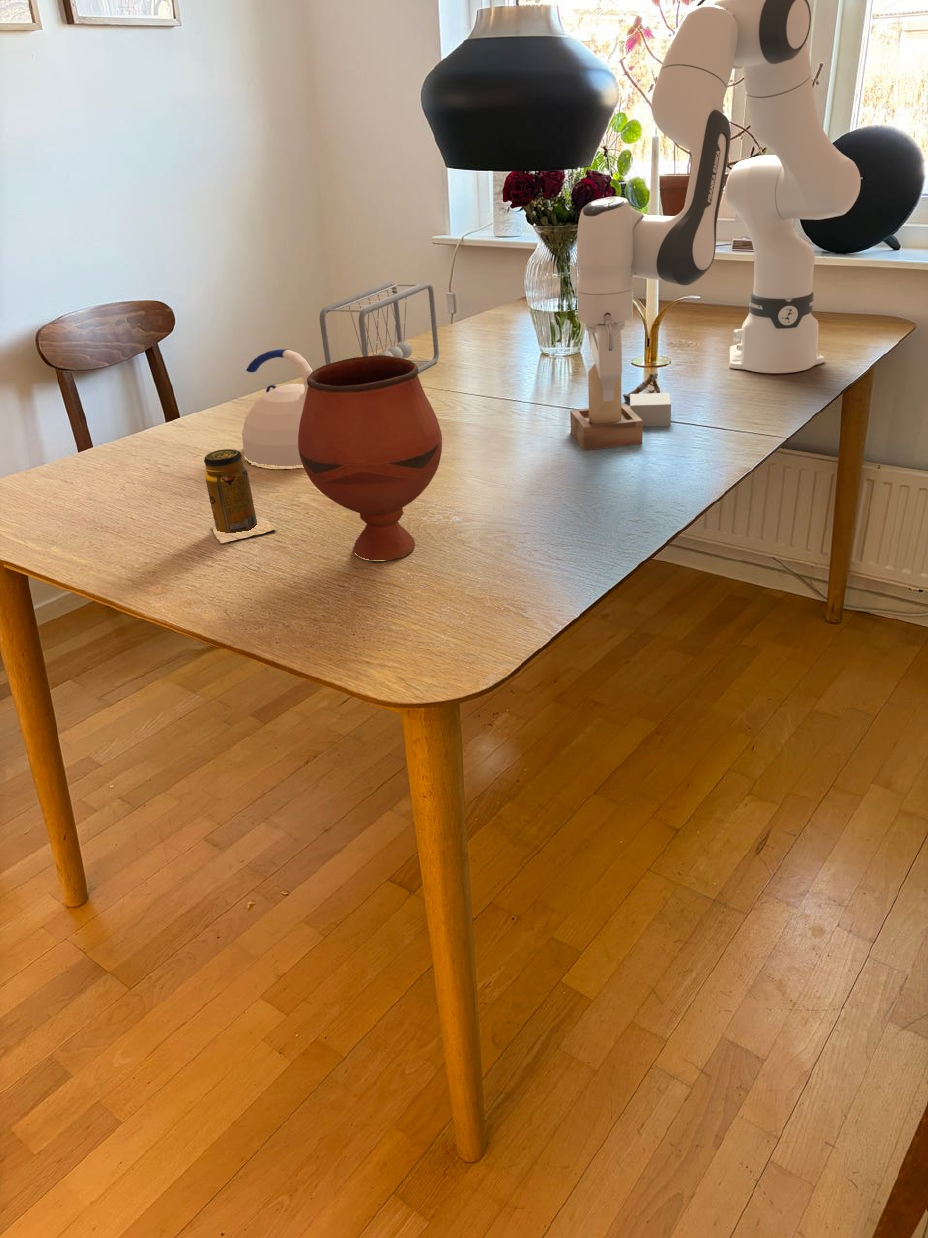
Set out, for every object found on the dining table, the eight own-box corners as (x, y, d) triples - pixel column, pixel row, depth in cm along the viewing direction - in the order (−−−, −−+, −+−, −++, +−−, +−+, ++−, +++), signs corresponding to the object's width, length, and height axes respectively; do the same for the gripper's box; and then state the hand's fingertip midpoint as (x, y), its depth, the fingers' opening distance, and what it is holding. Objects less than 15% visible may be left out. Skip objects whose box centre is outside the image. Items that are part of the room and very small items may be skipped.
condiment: (210, 528, 147) (194, 452, 141) (266, 515, 150) (252, 440, 144) (220, 545, 141) (203, 466, 135) (277, 532, 144) (263, 454, 138)
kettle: (301, 478, 163) (283, 370, 155) (219, 459, 175) (198, 358, 166) (381, 441, 177) (369, 340, 168) (300, 426, 189) (285, 331, 180)
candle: (620, 425, 165) (620, 366, 160) (587, 425, 166) (586, 366, 162) (622, 415, 170) (622, 357, 165) (590, 415, 171) (589, 358, 166)
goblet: (382, 511, 148) (362, 344, 136) (481, 538, 137) (468, 358, 125) (286, 558, 136) (254, 379, 124) (385, 592, 124) (361, 399, 112)
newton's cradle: (401, 359, 228) (392, 280, 220) (440, 361, 224) (433, 280, 215) (329, 396, 205) (316, 309, 197) (371, 399, 201) (361, 310, 192)
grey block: (630, 415, 180) (630, 393, 178) (668, 414, 179) (669, 392, 177) (630, 427, 174) (630, 405, 172) (670, 426, 173) (671, 404, 171)
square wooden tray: (570, 432, 173) (570, 410, 172) (625, 425, 174) (626, 403, 172) (584, 450, 165) (583, 427, 163) (642, 443, 166) (642, 420, 164)
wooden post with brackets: (666, 390, 189) (659, 370, 186) (635, 414, 187) (628, 395, 184) (659, 388, 190) (652, 368, 187) (629, 412, 188) (622, 393, 186)
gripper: (631, 320, 150) (631, 408, 156) (618, 293, 167) (618, 374, 174) (590, 323, 150) (591, 411, 157) (581, 296, 168) (582, 376, 175)
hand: (605, 391), depth 166 cm, fingers open, 8 cm apart
